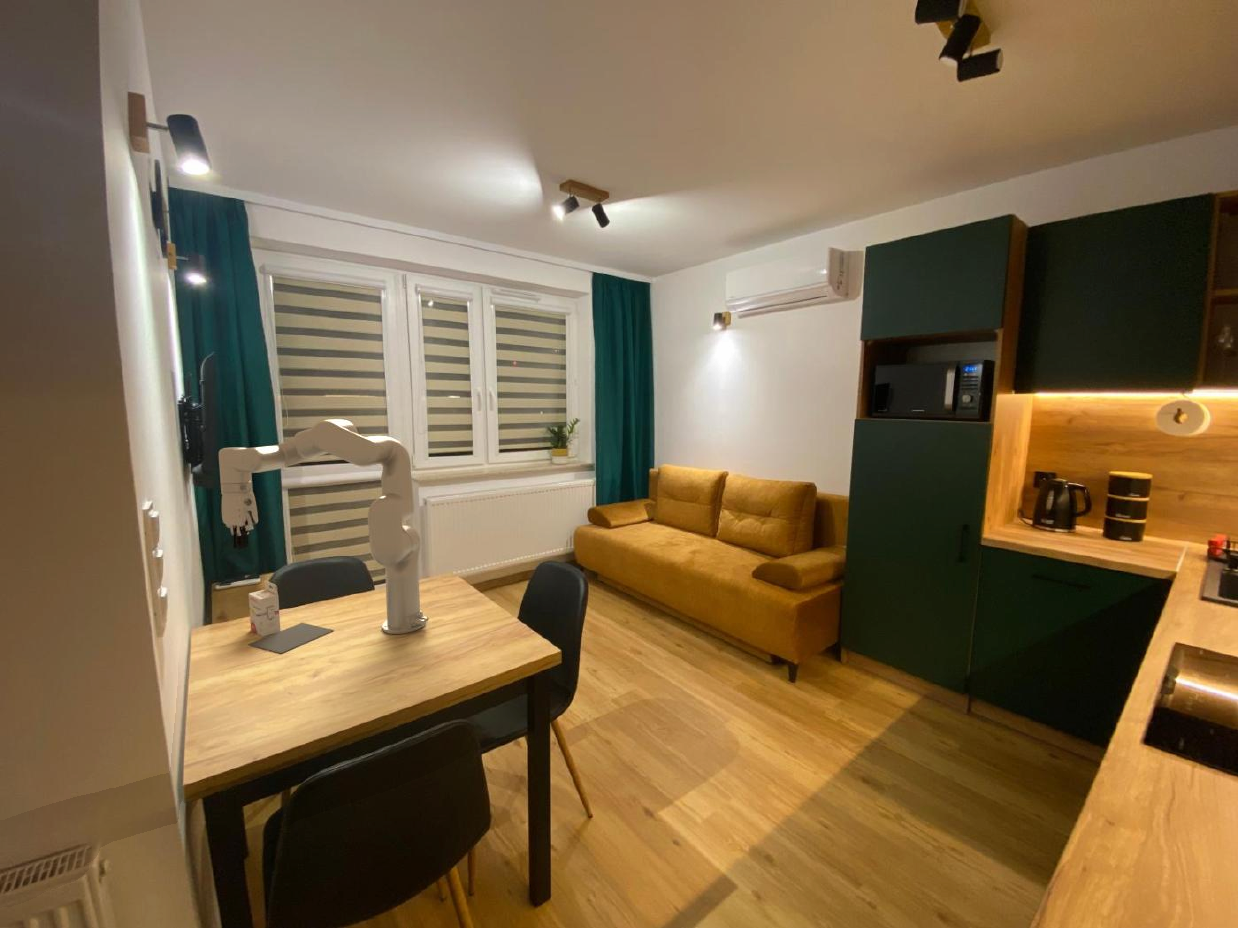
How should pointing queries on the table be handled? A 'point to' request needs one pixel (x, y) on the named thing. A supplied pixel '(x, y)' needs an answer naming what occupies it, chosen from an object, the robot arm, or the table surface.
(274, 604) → the ink cartridge box
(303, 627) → the mat
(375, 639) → the table surface
